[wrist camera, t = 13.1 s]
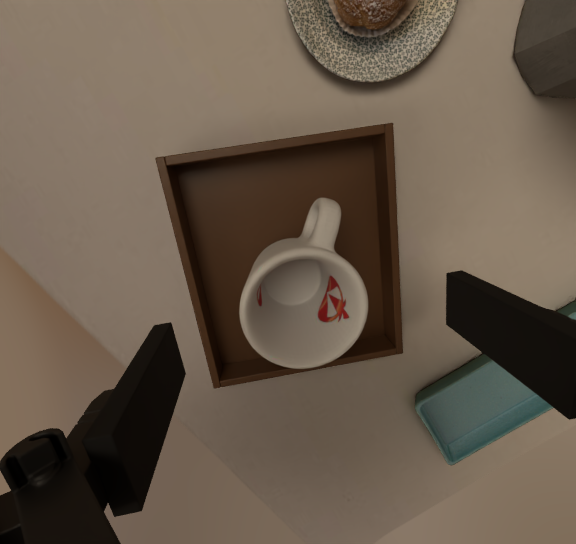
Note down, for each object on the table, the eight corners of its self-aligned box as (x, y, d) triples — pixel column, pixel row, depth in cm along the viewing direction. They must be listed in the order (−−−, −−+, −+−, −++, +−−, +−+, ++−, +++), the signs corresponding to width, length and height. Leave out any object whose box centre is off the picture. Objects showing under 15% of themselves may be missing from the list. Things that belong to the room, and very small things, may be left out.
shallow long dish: (643, 251, 31) (676, 258, 28) (660, 324, 33) (691, 336, 31) (401, 389, 32) (413, 406, 30) (436, 448, 35) (449, 468, 33)
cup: (267, 179, 25) (273, 181, 17) (362, 208, 26) (406, 222, 19) (232, 306, 27) (224, 356, 20) (320, 326, 29) (344, 381, 21)
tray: (217, 368, 30) (213, 389, 27) (166, 159, 24) (154, 157, 21) (389, 336, 30) (403, 353, 28) (377, 128, 25) (393, 122, 22)
